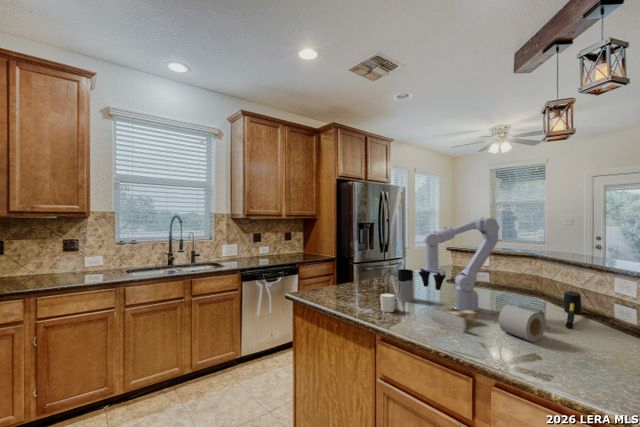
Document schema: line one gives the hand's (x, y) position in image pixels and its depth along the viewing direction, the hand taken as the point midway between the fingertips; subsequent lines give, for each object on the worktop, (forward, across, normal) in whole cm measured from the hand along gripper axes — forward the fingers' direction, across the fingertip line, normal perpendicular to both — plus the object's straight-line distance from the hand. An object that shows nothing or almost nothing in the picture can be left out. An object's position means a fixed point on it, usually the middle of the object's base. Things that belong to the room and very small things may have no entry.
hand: (431, 288), depth 145 cm
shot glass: (+10, -6, -21) cm, 24 cm away
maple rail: (+10, +20, -4) cm, 23 cm away
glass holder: (+10, -18, -4) cm, 21 cm away
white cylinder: (+10, +33, +19) cm, 39 cm away
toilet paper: (+10, +39, +4) cm, 40 cm away
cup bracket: (+9, +20, -10) cm, 24 cm away
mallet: (+10, +36, +41) cm, 56 cm away
